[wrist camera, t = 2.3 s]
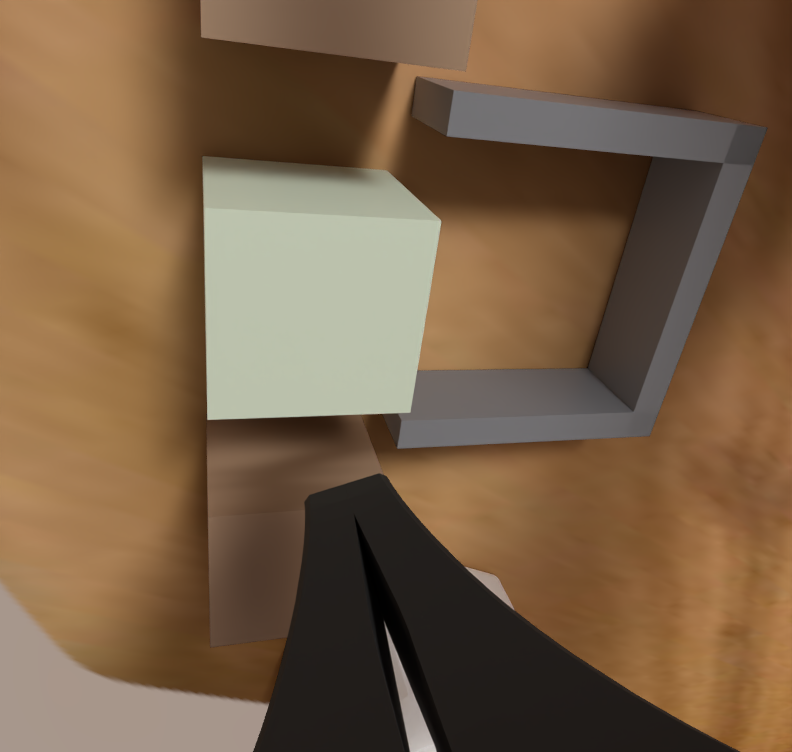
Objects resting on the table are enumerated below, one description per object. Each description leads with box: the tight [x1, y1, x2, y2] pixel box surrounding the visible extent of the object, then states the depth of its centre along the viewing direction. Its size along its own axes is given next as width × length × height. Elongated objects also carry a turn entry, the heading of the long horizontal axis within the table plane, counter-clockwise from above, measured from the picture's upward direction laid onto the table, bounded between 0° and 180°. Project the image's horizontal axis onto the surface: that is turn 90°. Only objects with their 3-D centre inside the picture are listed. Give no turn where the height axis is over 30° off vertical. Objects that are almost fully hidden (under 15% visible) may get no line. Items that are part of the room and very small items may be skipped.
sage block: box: [202, 156, 441, 420], centre depth 17 cm, size 5×5×5 cm
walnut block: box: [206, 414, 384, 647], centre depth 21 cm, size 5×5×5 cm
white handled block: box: [384, 566, 514, 752], centre depth 23 cm, size 7×7×12 cm
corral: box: [382, 76, 767, 449], centre depth 20 cm, size 9×10×3 cm
